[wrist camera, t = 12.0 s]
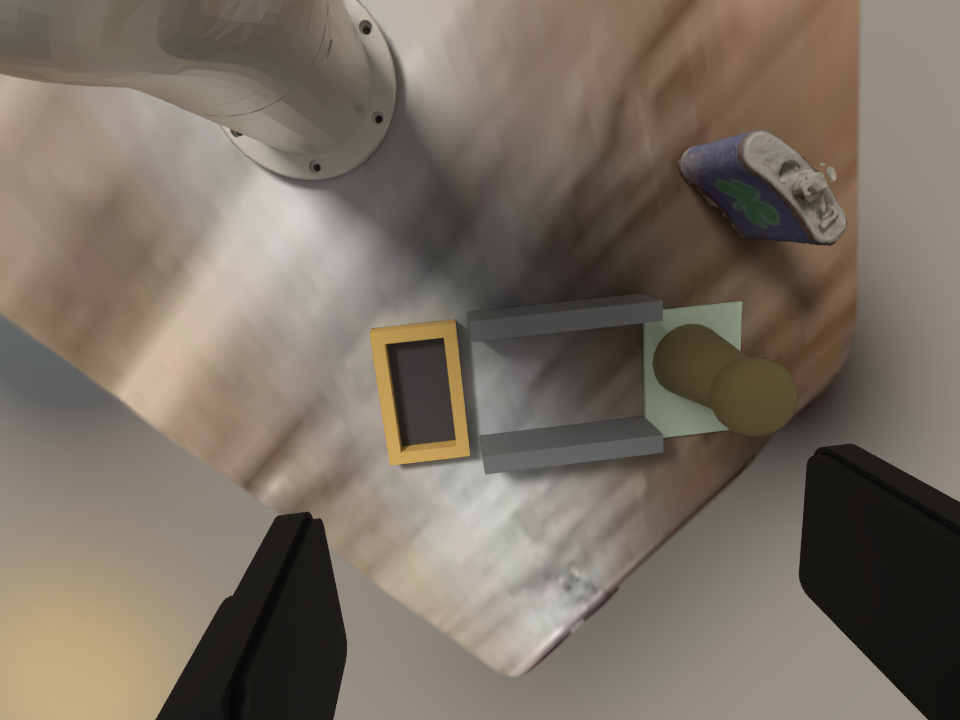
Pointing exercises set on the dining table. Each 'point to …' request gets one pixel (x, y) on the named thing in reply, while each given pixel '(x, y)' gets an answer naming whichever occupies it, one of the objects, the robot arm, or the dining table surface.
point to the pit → (420, 391)
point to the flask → (765, 188)
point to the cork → (725, 380)
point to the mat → (670, 408)
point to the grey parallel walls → (579, 438)
